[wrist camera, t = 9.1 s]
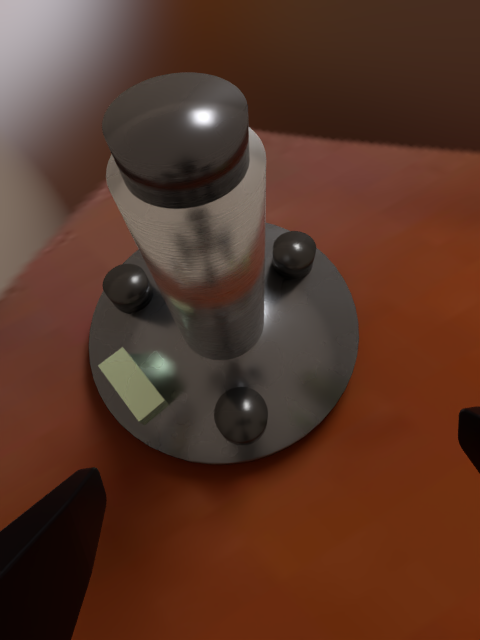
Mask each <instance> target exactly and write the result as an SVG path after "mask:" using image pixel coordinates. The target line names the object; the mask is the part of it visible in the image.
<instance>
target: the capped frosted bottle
mask: <svg viewBox="0 0 480 640" xmlns="http://www.w3.org/2000/svg"><path fill="white" fill-rule="evenodd" d="M102 130H103V134H104V137H105V140H106V142H107V144H108V146H109V149H110V151H111V153H112V155H111V157H110V160H109V162H108V166H107V171H106V179H107V185H108V187H109V190H110V192H111V194H112V196H113V198H114V200H115V202H116V204H117V206H118V208H119V210H120V212H121V214H122V216H123V218H124V220H125V222H126V224H127V226H128V228H129V230H130V232H131V234H132V236H133V238H134V240H135V242H136V244H137V246H138V248H139V250H140V252H141V254H142V256H143V258H144V260H145V262H146V264H147V266H148V268H149V270H150V272H151V274H152V276H153V278H154V280H155V282H156V284H157V286H158V288H159V290H160V292H161V294H162V296H163V298H164V300H165V302H166V304H167V306H168V308H169V310H170V312H171V314H172V316H173V318H174V320H175V322H176V324H177V326H178V328H179V330H180V332H181V334H182V336H183V338H184V340H185V342H186V344H187V345H188V346H189V347H190V348H191V349H192V350H193V351H194V352H195V353H197V354H198V355H200V356H202V357H205V358H207V359H212V360H229V359H233V358H236V357H239V356H241V355H243V354H245V353H246V352H248V351H249V350H250V349H251V348H252V347H253V346H254V345H255V344H256V343H257V342H258V340H259V338H260V337H261V334H262V332H263V327H264V292H265V207H266V153H265V149H264V146H263V144H262V142H261V140H260V138H259V137H258V136H257V134H256V133H255V132H254V131H253V130H252V129H250V128H249V126H248V105H247V101H246V99H245V97H244V95H243V94H242V92H241V91H240V90H239V89H238V88H237V87H236V86H234V85H233V84H231V83H230V82H228V81H226V80H224V79H222V78H219V77H216V76H212V75H208V74H202V73H174V74H167V75H162V76H158V77H154V78H151V79H148V80H146V81H143V82H141V83H139V84H136V85H134V86H133V87H131V88H129V89H127V90H126V91H125V92H123V93H122V94H121V95H119V96H118V97H117V98H116V99H115V100H114V101H113V102H112V103H111V105H110V106H109V108H108V109H107V111H106V113H105V115H104V118H103V122H102Z"/></svg>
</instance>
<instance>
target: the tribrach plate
mask: <svg viewBox="0 0 480 640" xmlns="http://www.w3.org/2000/svg"><path fill="white" fill-rule="evenodd" d="M103 290H104V291H103V293H102V295H101V297H100V299H99V301H98V303H97V306H96V309H95V312H94V314H93V319H92V323H91V328H90V336H89V356H90V365H91V370H92V374H93V378H94V381H95V384H96V386H97V389H98V391H99V394H100V396H101V397H102V399H103V401H104V403H105V404H106V406H107V408H108V409H109V411H110V412H111V413H112V414H113V416H114V417H115V418H116V419H117V420H118V422H119V423H120V424H121V425H122V426H123V427H124V428H125V429H127V430H128V431H129V432H130V433H131V434H132V435H133V436H135V437H136V438H138V439H139V440H141V441H142V442H144V443H145V444H147V445H148V446H150V447H152V448H154V449H157V450H159V451H161V452H163V453H165V454H168V455H170V456H172V457H176V458H179V459H183V460H186V461H190V462H195V463H203V464H210V465H223V464H237V463H244V462H250V461H254V460H257V459H260V458H264V457H267V456H270V455H273V454H275V453H277V452H279V451H281V450H283V449H285V448H288V447H289V446H291V445H292V444H294V443H296V442H297V441H299V440H300V439H302V438H303V437H305V436H306V435H307V434H308V433H309V432H311V431H312V430H313V429H314V428H315V427H316V426H317V425H319V424H320V422H321V421H322V420H323V419H324V418H325V417H326V415H327V414H328V413H329V412H330V411H331V410H332V408H333V407H334V406H335V405H336V403H337V401H338V400H339V398H340V397H341V395H342V394H343V392H344V390H345V388H346V386H347V384H348V382H349V379H350V377H351V375H352V372H353V368H354V365H355V361H356V357H357V350H358V342H359V332H358V319H357V314H356V308H355V305H354V302H353V299H352V296H351V293H350V291H349V289H348V287H347V285H346V283H345V281H344V279H343V277H342V276H341V274H340V273H339V272H338V270H337V269H336V267H335V266H334V265H333V264H332V262H331V261H330V260H329V259H328V258H327V257H326V256H325V255H324V254H323V253H322V252H321V251H320V250H318V249H317V248H316V244H315V242H314V240H313V239H312V238H311V237H310V236H309V235H307V234H305V233H302V232H298V231H289V230H286V229H284V228H281V227H278V226H276V225H273V224H269V223H265V292H264V327H263V332H262V334H261V337H260V338H259V340H258V342H257V343H256V344H255V345H254V346H253V347H252V348H251V349H250V350H249V351H248V352H246V353H245V354H243V355H241V356H239V357H236V358H233V359H229V360H212V359H207V358H205V357H202V356H200V355H198V354H197V353H195V352H194V351H193V350H192V349H191V348H190V347H189V346H188V345H187V344H186V342H185V340H184V338H183V336H182V334H181V332H180V330H179V328H178V326H177V324H176V322H175V320H174V318H173V316H172V314H171V312H170V310H169V308H168V306H167V304H166V302H165V300H164V298H163V296H162V294H161V292H160V290H159V288H158V286H157V284H156V282H155V280H154V278H153V276H152V274H151V272H150V270H149V268H148V266H147V264H146V262H145V260H144V258H143V256H142V254H141V252H140V250H137V251H136V252H135V253H134V254H133V255H132V256H130V257H129V258H128V259H127V260H126V261H125V262H124V263H123V264H122V265H119V266H117V267H115V268H113V269H112V270H110V271H109V272H108V274H107V275H106V276H105V278H104V281H103Z"/></svg>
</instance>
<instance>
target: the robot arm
mask: <svg viewBox="0 0 480 640" xmlns="http://www.w3.org/2000/svg"><path fill="white" fill-rule="evenodd" d="M458 440H459V444H460V446H461V448H462V449H463V451H464V452H465V454H466V455H467V456H468V458H469V459H470V461H471V462H472V463H473V465H474V466H475V468H476V469H477V470H478V472H479V473H480V407H470V408H464V409H462V410H461V411H460V413H459V426H458ZM105 508H106V493H105V490H104V486H103V483H102V480H101V476H100V473H99V471H98V469H97V468H95V467H92V468H86V469H80V470H78V471H76V472H75V473H74V474H73V475H71V476H70V477H69V478H68V479H66V480H65V481H64V482H62V483H61V484H60V485H59V486H57V487H56V488H55V489H54V490H52V491H51V492H50V493H49V494H47V495H46V496H45V497H43V498H42V499H41V500H40V501H38V502H37V503H36V504H35V505H33V506H32V507H31V508H29V509H28V510H27V511H26V512H24V513H23V514H22V515H21V516H19V517H18V518H17V519H16V520H14V521H13V522H12V523H10V524H9V525H8V526H7V527H5V528H4V529H3V530H2V531H0V640H71V638H72V635H73V631H74V628H75V625H76V622H77V619H78V616H79V612H80V609H81V606H82V603H83V600H84V596H85V593H86V590H87V587H88V583H89V580H90V577H91V573H92V569H93V565H94V560H95V556H96V551H97V546H98V541H99V537H100V532H101V527H102V522H103V518H104V513H105Z"/></svg>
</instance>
